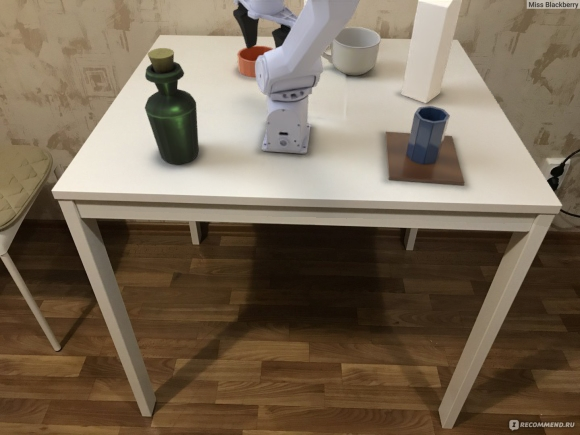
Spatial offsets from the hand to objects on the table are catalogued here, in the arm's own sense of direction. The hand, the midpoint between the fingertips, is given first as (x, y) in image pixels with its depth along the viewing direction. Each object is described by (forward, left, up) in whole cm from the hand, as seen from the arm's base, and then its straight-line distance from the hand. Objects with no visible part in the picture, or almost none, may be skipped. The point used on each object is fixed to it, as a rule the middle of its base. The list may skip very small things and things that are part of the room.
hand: (266, 54), depth 86 cm
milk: (+9, -31, -11) cm, 34 cm away
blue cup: (-15, -29, -10) cm, 34 cm away
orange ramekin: (+16, +5, -11) cm, 20 cm away
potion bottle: (-19, +13, -11) cm, 25 cm away
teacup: (+19, -15, -11) cm, 27 cm away
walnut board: (-15, -29, -11) cm, 35 cm away
